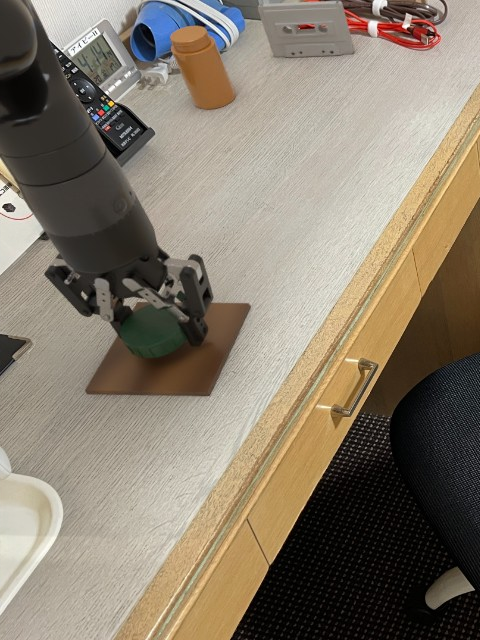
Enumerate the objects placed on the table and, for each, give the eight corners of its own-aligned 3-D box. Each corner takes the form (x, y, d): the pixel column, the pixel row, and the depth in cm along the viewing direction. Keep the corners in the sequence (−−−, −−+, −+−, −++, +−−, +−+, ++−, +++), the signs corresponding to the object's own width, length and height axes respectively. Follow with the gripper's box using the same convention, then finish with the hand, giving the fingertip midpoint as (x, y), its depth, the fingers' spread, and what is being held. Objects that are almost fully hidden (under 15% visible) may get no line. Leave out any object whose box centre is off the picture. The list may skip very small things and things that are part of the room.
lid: (117, 358, 78) (109, 346, 77) (142, 314, 82) (134, 301, 81) (178, 358, 78) (171, 346, 77) (200, 314, 82) (193, 301, 81)
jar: (189, 110, 112) (160, 45, 105) (199, 89, 116) (172, 24, 109) (230, 108, 113) (204, 42, 106) (239, 86, 116) (215, 22, 109)
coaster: (86, 393, 78) (84, 390, 78) (139, 305, 87) (137, 301, 86) (209, 395, 78) (207, 392, 78) (250, 306, 86) (249, 302, 86)
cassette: (355, 49, 123) (342, -2, 117) (353, 55, 122) (340, 4, 116) (275, 52, 123) (258, 2, 117) (272, 58, 122) (255, 8, 116)
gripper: (187, 178, 71) (251, 313, 84) (26, 177, 72) (114, 312, 84) (151, 234, 66) (226, 369, 79) (-21, 233, 67) (80, 367, 79)
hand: (168, 339), depth 81 cm, fingers closed on lid, 5 cm apart
